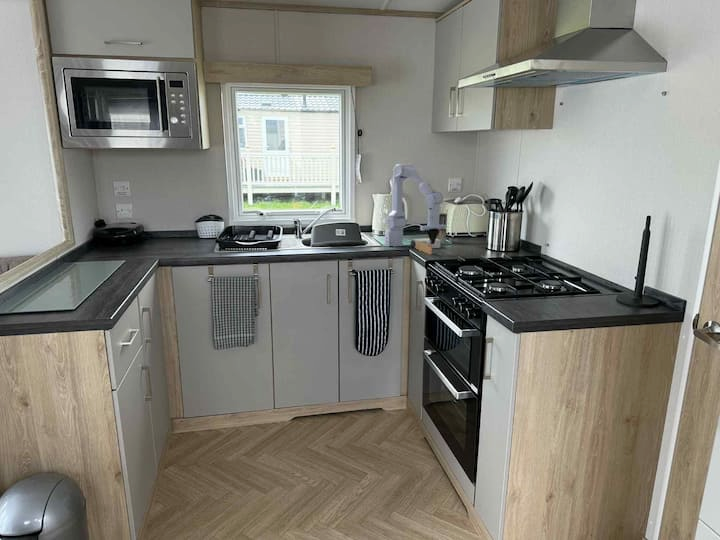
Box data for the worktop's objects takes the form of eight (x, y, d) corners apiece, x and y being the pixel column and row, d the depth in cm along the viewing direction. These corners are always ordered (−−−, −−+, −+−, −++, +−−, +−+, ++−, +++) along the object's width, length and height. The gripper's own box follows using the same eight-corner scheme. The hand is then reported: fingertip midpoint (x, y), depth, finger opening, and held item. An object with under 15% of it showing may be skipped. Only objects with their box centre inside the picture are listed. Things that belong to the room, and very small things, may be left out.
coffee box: (446, 241, 292) (448, 213, 288) (444, 243, 286) (446, 214, 282) (430, 240, 295) (431, 212, 291) (428, 242, 289) (430, 213, 285)
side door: (415, 249, 268) (416, 236, 267) (418, 249, 269) (419, 236, 268) (429, 254, 256) (430, 241, 255) (432, 254, 257) (433, 240, 256)
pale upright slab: (414, 249, 269) (415, 241, 268) (409, 246, 276) (409, 239, 275) (440, 247, 274) (440, 240, 273) (434, 245, 281) (434, 238, 280)
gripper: (426, 218, 248) (425, 246, 252) (450, 217, 255) (448, 243, 259) (418, 217, 254) (417, 243, 258) (441, 215, 261) (439, 241, 265)
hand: (432, 243), depth 259 cm, fingers closed
